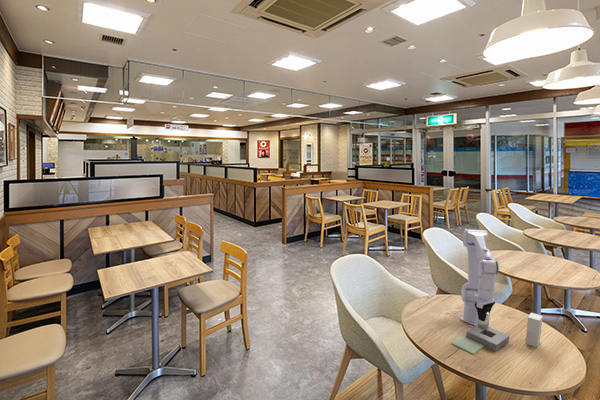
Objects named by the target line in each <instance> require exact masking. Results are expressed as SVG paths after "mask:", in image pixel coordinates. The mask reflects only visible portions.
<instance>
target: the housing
mask: <svg viewBox="0 0 600 400" xmlns="http://www.w3.org/2000/svg"><path fill="white" fill-rule="evenodd" d="M465 337H467V338H469V339H471V340H473V341H476V342H478V343H480V344H482V345H484V348H487V349H489V350H492V351H493V352H498V351H499V350H500V349H501V348H504V346H506V345H507V344H508V343H509V342H510V335H509V334H508V333H505V332H503V331H501V330H498V329H496V328H493V327H490V326H489V329H488V330H482V329H480V328H478V325H476V326H472V327H471V328H470V329H468V330H467V331H466V336H465Z"/></svg>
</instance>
